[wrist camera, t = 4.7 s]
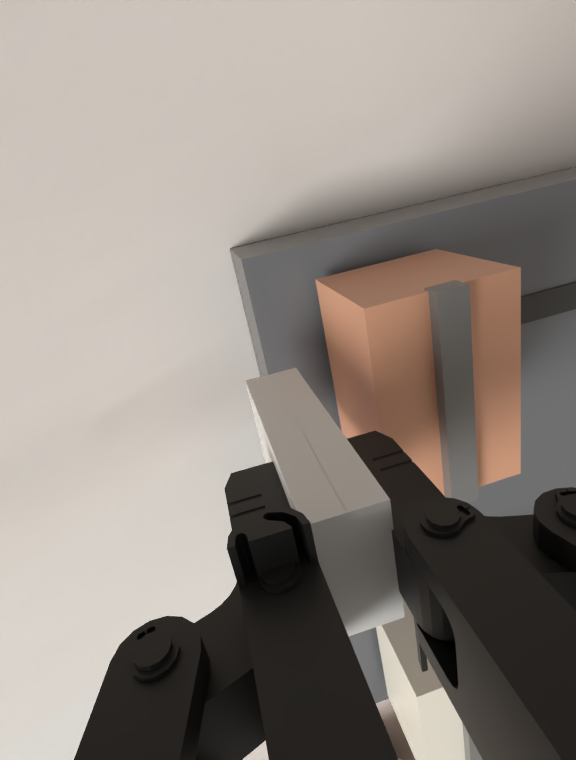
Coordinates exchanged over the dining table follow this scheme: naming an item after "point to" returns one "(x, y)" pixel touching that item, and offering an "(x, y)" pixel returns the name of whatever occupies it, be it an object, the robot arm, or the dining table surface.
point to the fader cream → (420, 697)
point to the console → (457, 235)
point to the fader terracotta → (431, 362)
